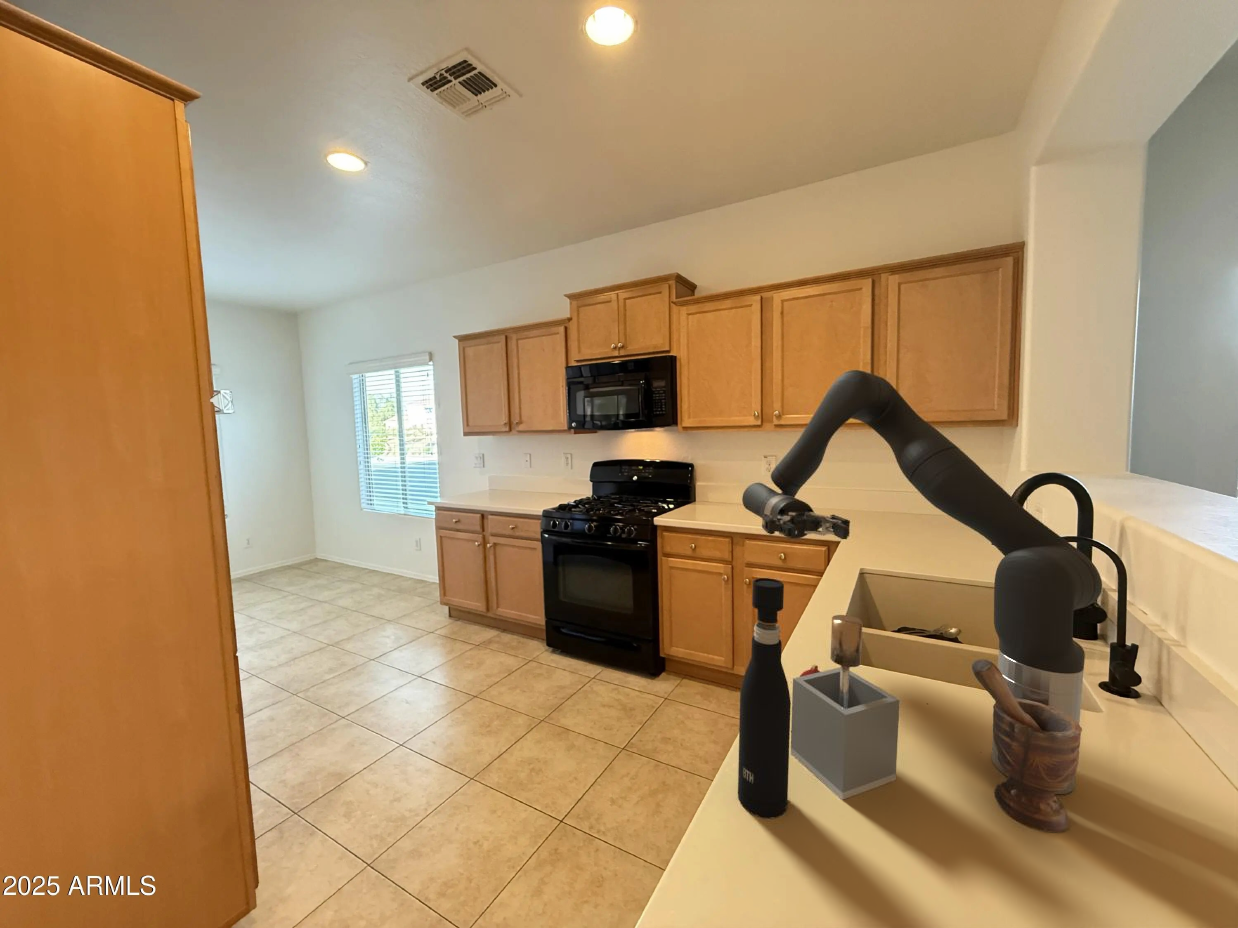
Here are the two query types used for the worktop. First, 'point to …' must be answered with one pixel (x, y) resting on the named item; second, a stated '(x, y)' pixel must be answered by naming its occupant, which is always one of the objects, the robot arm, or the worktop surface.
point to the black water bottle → (765, 711)
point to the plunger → (846, 650)
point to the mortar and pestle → (1031, 753)
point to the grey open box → (845, 732)
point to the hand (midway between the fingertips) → (819, 533)
